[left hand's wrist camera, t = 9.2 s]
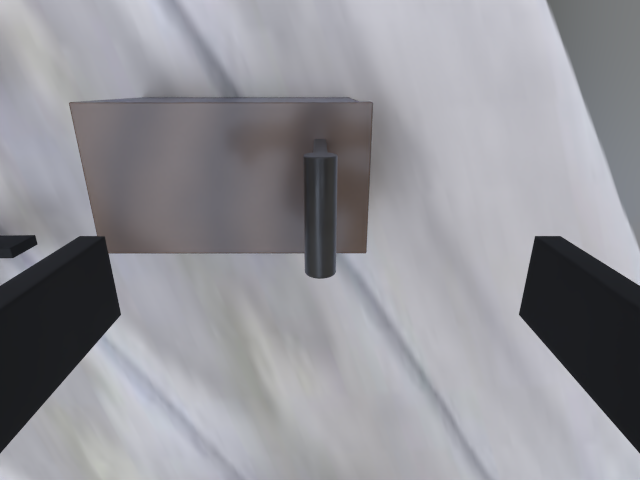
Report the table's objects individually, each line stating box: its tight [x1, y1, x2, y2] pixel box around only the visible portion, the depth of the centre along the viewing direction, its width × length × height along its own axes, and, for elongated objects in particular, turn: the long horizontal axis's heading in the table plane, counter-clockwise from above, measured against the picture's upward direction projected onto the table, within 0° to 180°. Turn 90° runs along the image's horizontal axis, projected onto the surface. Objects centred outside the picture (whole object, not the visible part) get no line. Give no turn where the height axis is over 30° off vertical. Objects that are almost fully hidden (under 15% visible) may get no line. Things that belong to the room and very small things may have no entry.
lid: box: [69, 102, 373, 278], centre depth 22 cm, size 17×9×8 cm, turn 90°
